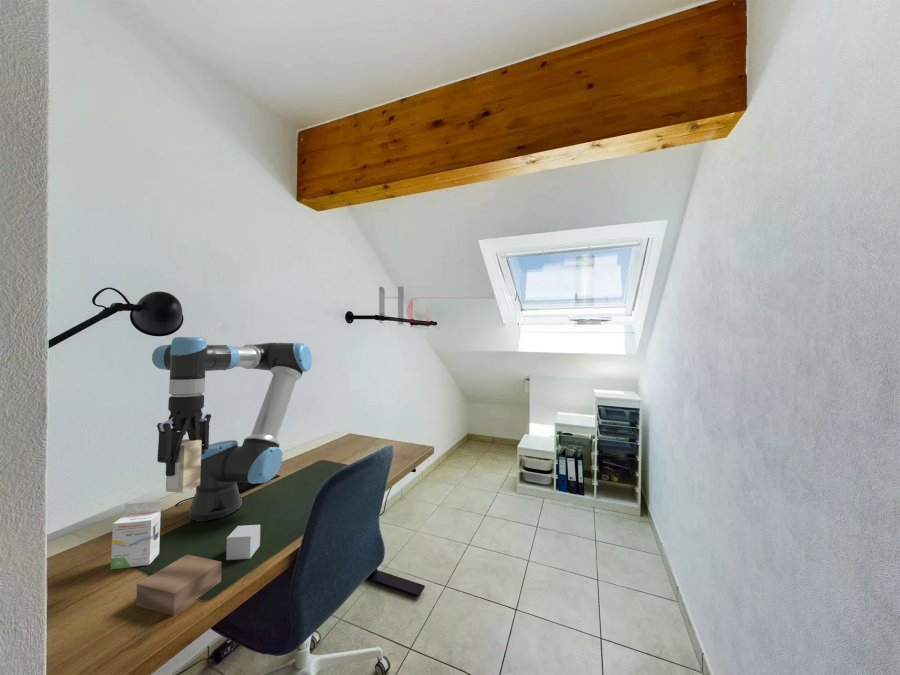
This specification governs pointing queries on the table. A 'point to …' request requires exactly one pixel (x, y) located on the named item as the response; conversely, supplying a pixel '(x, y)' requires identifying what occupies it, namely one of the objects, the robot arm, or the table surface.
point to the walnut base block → (178, 584)
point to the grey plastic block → (243, 542)
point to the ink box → (136, 536)
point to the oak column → (188, 466)
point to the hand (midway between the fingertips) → (183, 483)
